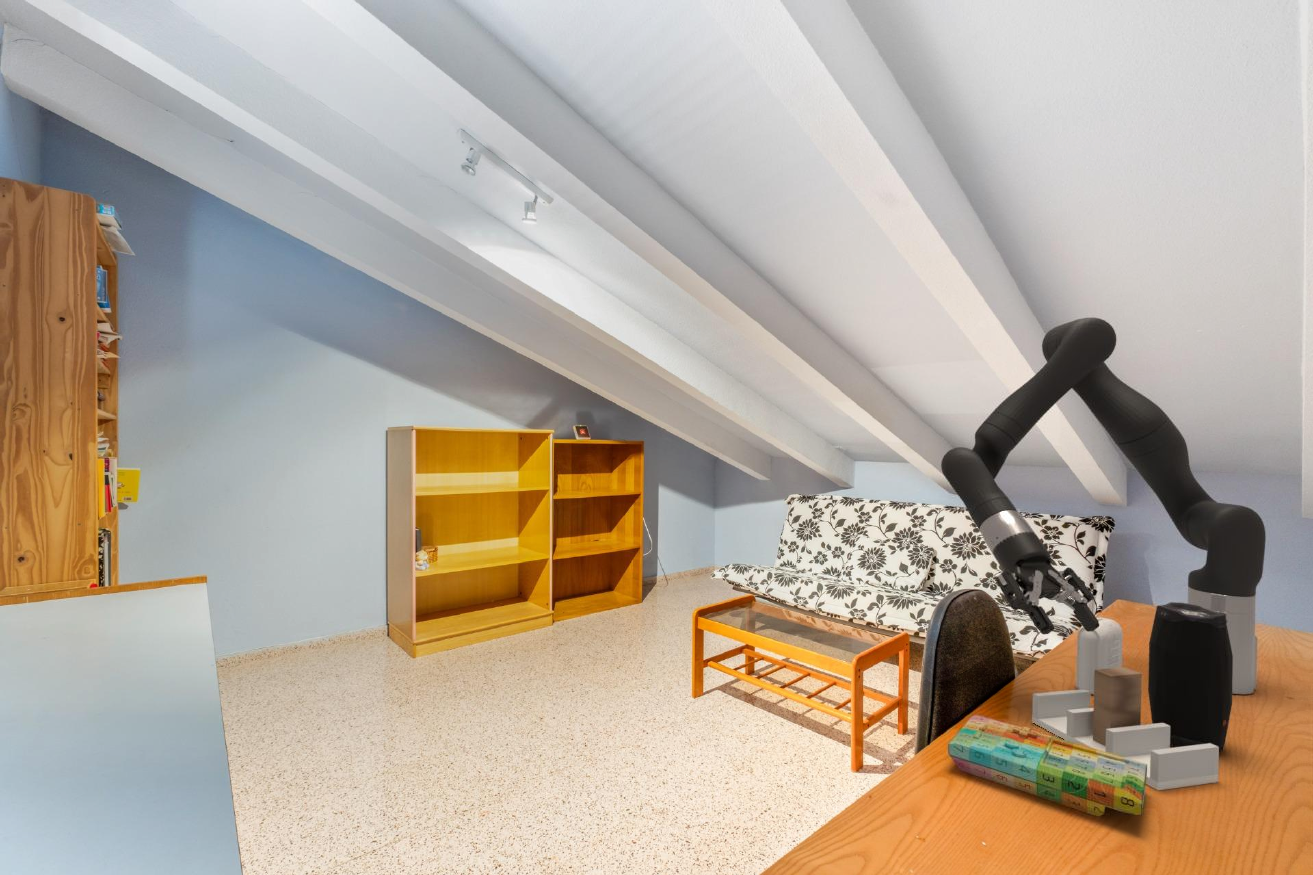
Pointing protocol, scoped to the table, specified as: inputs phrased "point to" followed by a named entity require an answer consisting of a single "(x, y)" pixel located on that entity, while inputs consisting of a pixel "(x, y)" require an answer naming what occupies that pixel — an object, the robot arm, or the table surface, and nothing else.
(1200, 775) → the slotted rack
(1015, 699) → the table surface
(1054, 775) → the puzzle game
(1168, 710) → the portable speaker
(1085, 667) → the photo printer
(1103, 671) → the walnut block
